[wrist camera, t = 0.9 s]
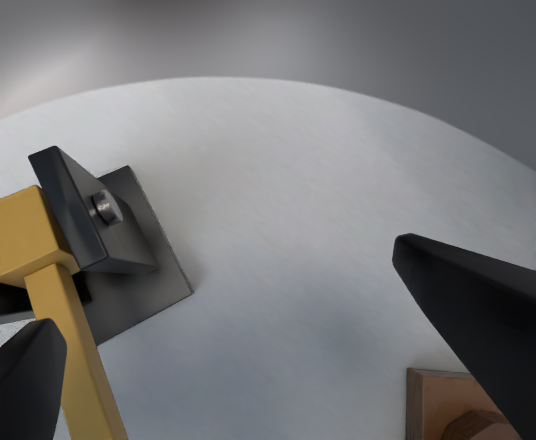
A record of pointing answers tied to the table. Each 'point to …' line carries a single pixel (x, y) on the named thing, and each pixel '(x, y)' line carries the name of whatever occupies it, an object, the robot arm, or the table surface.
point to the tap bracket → (105, 247)
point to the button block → (452, 409)
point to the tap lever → (58, 309)
